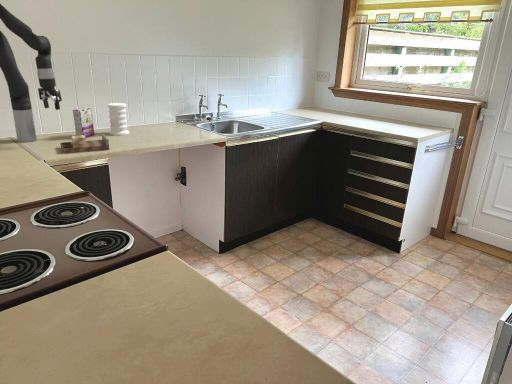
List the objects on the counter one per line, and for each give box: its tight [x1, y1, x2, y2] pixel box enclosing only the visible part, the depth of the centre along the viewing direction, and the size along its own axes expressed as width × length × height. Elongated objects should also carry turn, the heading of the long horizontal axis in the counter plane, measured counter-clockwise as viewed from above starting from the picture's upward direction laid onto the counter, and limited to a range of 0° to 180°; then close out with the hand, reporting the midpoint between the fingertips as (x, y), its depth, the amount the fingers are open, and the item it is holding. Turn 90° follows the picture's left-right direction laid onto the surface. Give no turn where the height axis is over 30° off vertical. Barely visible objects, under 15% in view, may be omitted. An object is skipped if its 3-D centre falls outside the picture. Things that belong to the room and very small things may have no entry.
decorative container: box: [107, 102, 130, 136], centre depth 239 cm, size 12×12×18 cm
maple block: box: [71, 135, 87, 146], centre depth 202 cm, size 6×6×4 cm
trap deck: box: [59, 133, 110, 154], centre depth 204 cm, size 22×14×6 cm, turn 120°
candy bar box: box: [72, 106, 95, 139], centre depth 228 cm, size 11×5×16 cm, turn 168°
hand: (52, 108), depth 207 cm, fingers open, 8 cm apart
